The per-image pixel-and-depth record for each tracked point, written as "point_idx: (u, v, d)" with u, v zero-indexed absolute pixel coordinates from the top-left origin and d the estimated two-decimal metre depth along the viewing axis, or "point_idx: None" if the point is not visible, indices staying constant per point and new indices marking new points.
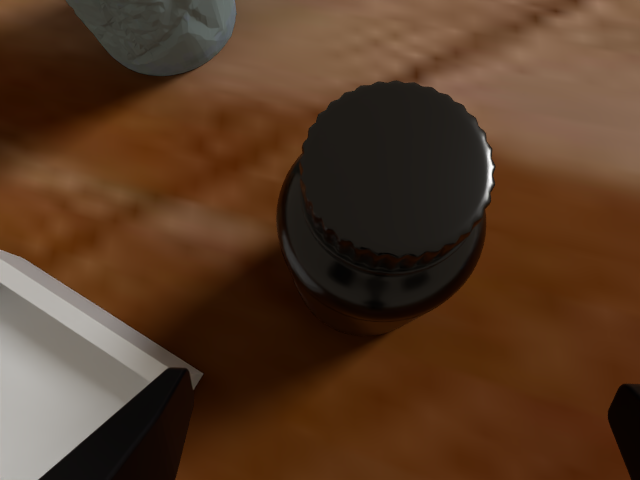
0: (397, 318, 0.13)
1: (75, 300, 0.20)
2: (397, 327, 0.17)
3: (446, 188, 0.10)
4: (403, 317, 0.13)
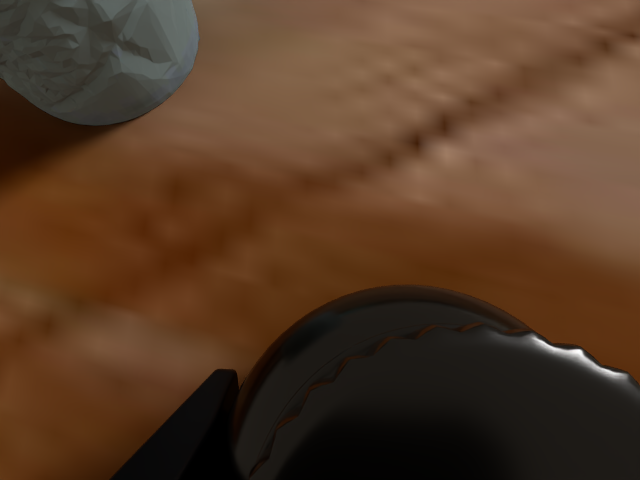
0: None
1: None
2: None
3: None
4: None
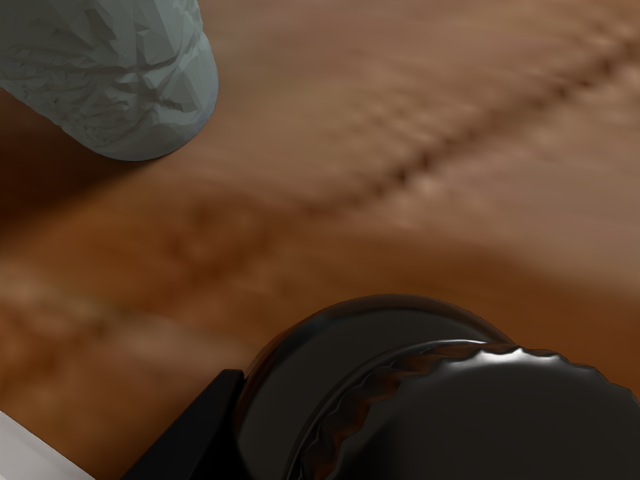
0: None
1: (23, 462, 0.17)
2: None
3: None
4: None
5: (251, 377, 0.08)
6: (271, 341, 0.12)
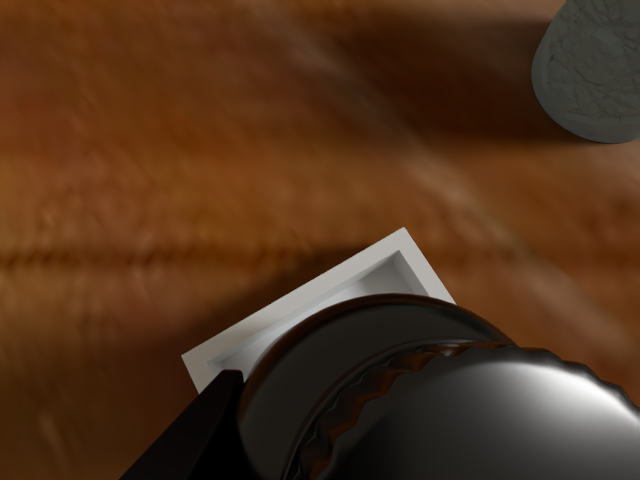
0: None
1: None
2: None
3: None
4: None
5: (252, 375, 0.08)
6: (274, 340, 0.12)
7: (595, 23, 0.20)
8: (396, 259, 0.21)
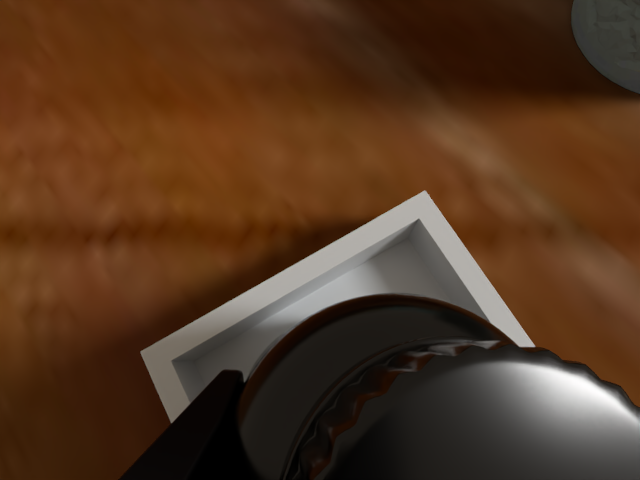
0: None
1: None
2: None
3: None
4: None
5: (253, 375, 0.08)
6: None
7: None
8: (414, 233, 0.17)
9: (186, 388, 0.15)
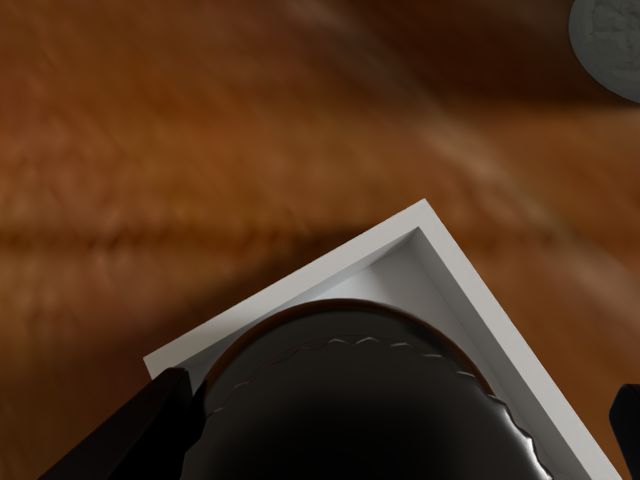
0: None
1: None
2: None
3: None
4: None
5: None
6: None
7: None
8: (414, 240, 0.17)
9: None
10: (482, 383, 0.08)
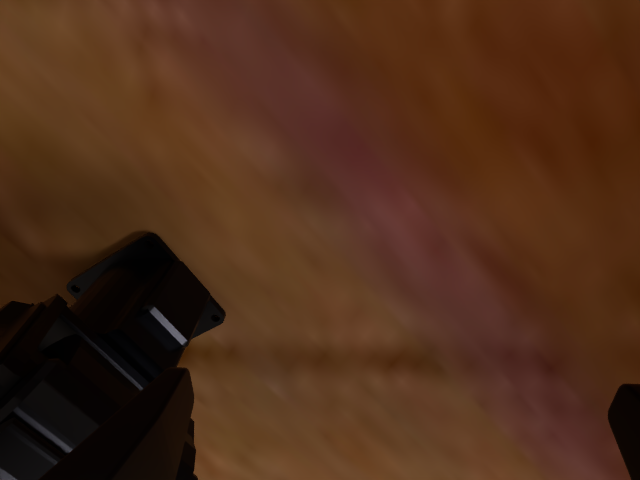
0: None
1: None
2: None
3: None
4: None
5: None
6: None
7: None
8: None
9: None
10: None
